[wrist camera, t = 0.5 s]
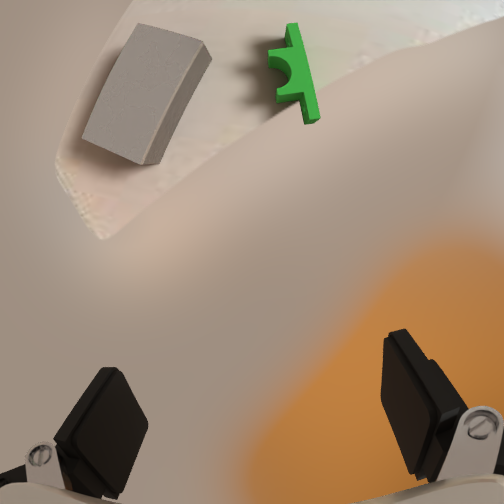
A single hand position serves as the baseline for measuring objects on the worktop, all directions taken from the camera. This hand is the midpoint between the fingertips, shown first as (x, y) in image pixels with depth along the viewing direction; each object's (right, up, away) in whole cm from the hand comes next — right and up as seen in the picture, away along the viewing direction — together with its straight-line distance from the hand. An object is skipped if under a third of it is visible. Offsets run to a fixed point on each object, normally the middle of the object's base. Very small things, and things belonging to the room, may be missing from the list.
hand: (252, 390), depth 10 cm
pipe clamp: (+4, +24, +21) cm, 33 cm away
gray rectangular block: (-11, +23, +22) cm, 34 cm away
